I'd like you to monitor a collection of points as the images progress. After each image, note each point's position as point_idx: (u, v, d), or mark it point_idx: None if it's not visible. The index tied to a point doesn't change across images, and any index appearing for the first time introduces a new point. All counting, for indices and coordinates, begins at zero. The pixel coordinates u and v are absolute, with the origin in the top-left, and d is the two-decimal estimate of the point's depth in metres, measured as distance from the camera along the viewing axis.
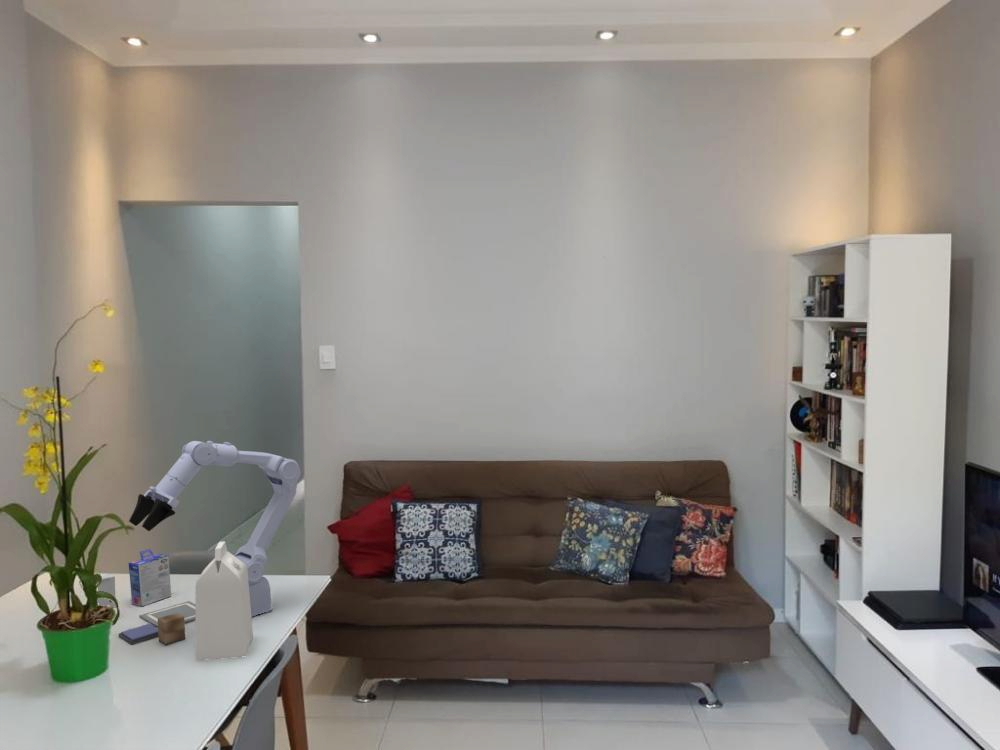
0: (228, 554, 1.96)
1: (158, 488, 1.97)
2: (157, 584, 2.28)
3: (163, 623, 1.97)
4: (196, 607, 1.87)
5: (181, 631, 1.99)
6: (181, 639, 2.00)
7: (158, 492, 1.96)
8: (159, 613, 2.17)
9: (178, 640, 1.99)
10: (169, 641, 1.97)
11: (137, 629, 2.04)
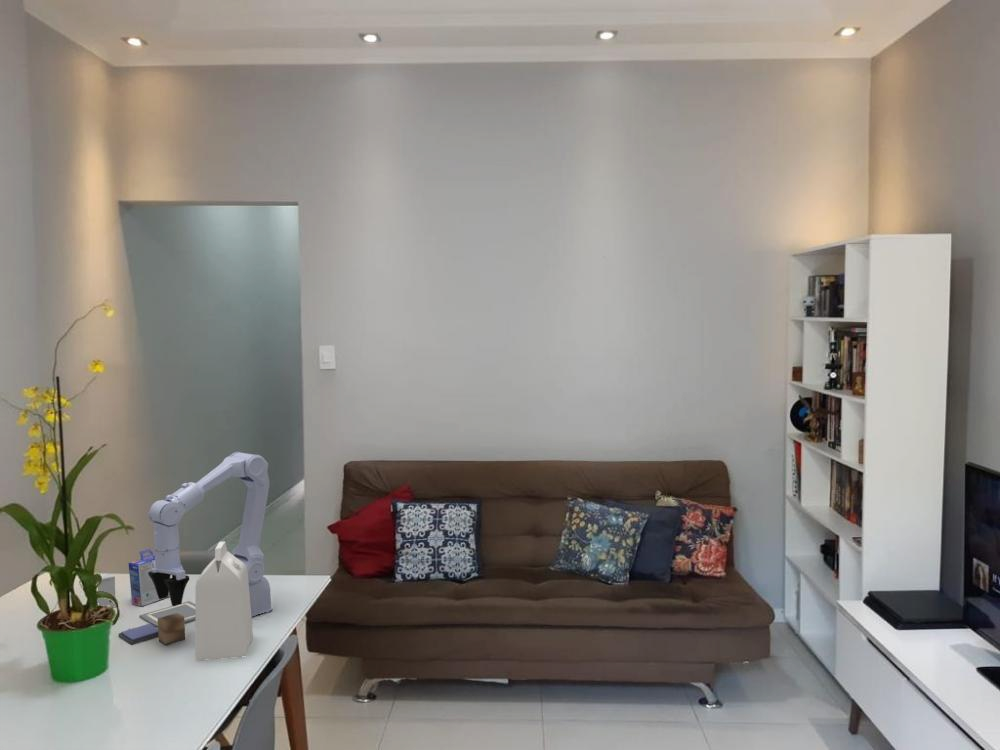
0: (228, 554, 1.96)
1: (158, 567, 1.96)
2: None
3: (163, 623, 1.97)
4: (196, 607, 1.87)
5: (181, 631, 1.99)
6: (181, 639, 2.00)
7: (161, 571, 1.95)
8: (159, 613, 2.17)
9: (178, 640, 1.99)
10: (169, 641, 1.97)
11: (137, 629, 2.04)
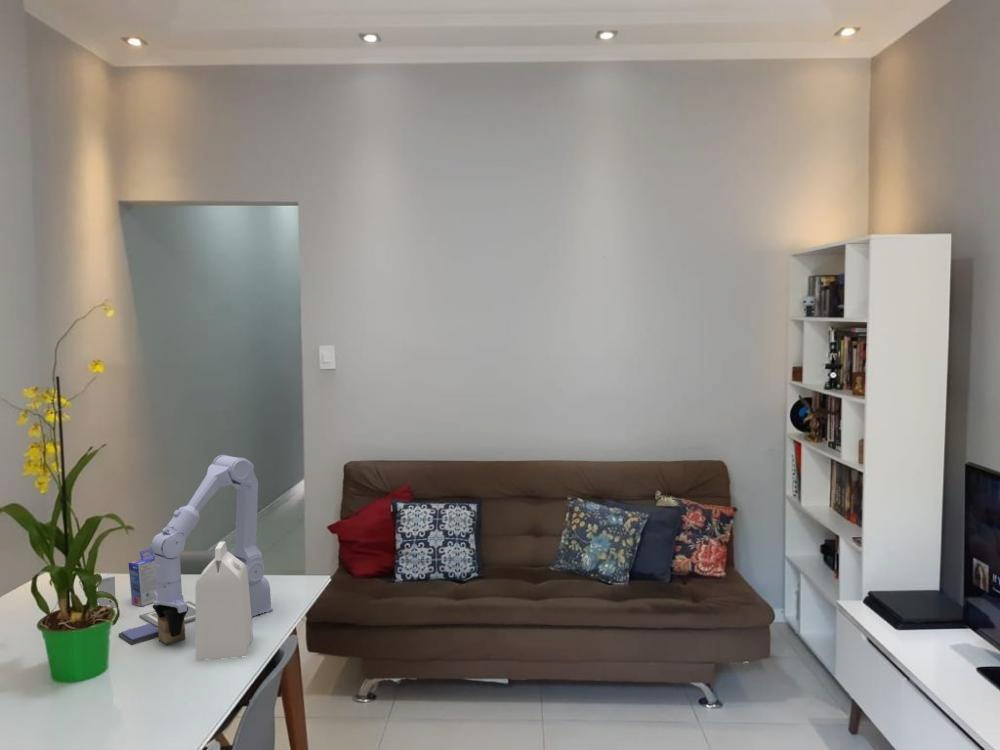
0: (228, 554, 1.96)
1: (160, 599, 1.96)
2: None
3: (163, 623, 1.97)
4: (196, 607, 1.87)
5: (181, 631, 1.99)
6: (181, 639, 2.00)
7: (163, 604, 1.96)
8: None
9: (178, 640, 1.99)
10: (169, 641, 1.97)
11: (137, 629, 2.04)
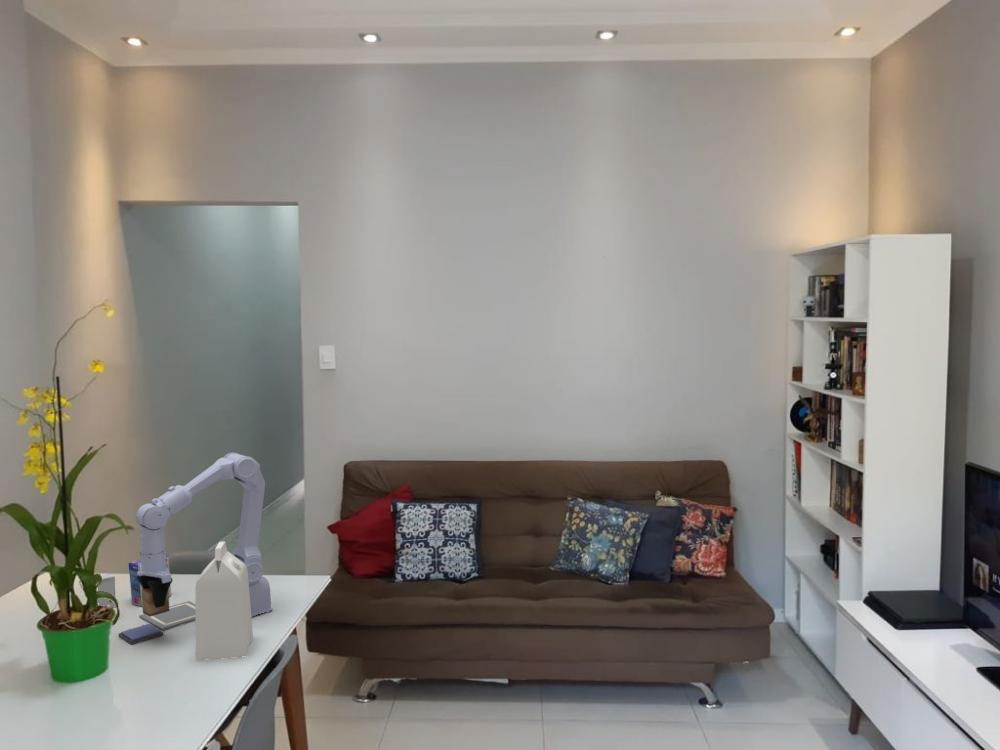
0: (228, 554, 1.96)
1: (144, 570, 1.97)
2: None
3: (147, 594, 1.97)
4: (196, 607, 1.87)
5: (165, 602, 2.00)
6: (165, 610, 2.00)
7: (147, 574, 1.97)
8: None
9: (162, 611, 2.00)
10: (153, 612, 1.98)
11: (137, 629, 2.04)
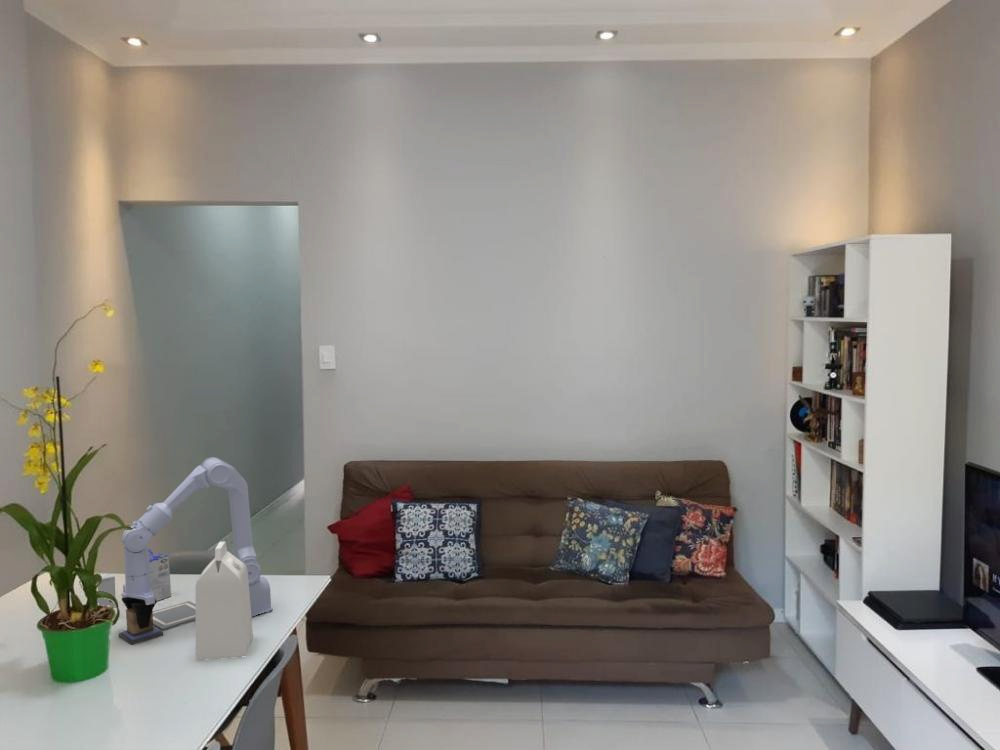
0: (228, 554, 1.96)
1: (128, 592, 1.99)
2: (157, 584, 2.28)
3: (131, 614, 2.00)
4: (196, 607, 1.87)
5: None
6: (149, 630, 2.03)
7: (131, 596, 1.99)
8: (159, 613, 2.17)
9: (146, 631, 2.02)
10: (137, 632, 2.00)
11: None
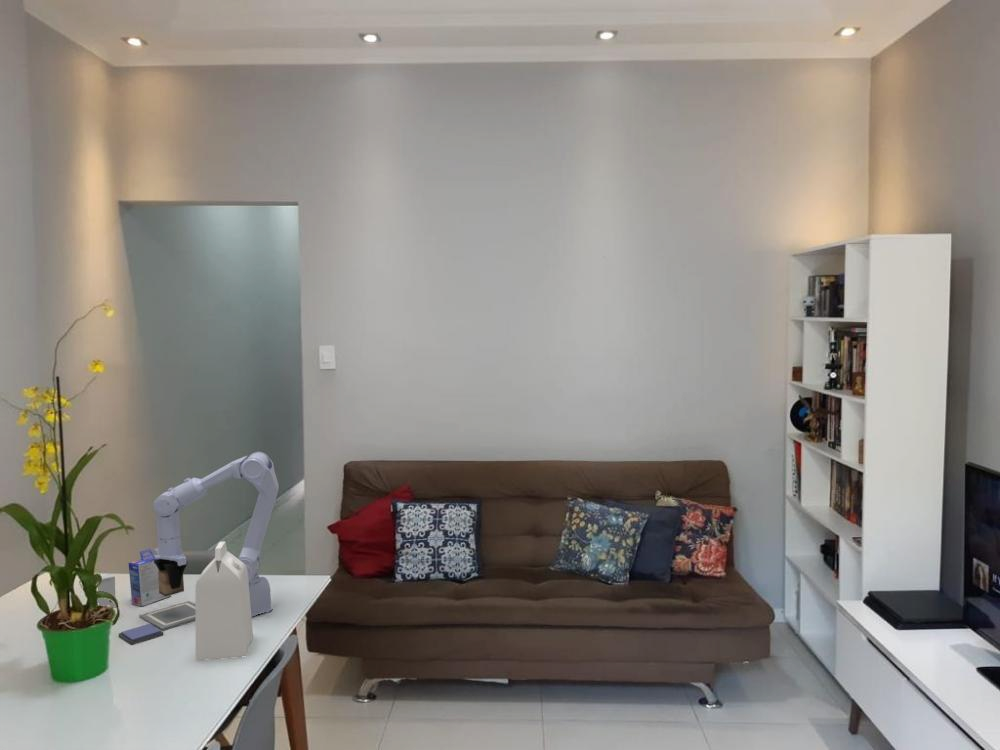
0: (228, 554, 1.96)
1: (161, 554, 2.11)
2: (157, 584, 2.28)
3: (163, 575, 2.11)
4: (196, 607, 1.87)
5: None
6: (180, 590, 2.14)
7: (164, 558, 2.10)
8: (159, 613, 2.17)
9: (177, 591, 2.13)
10: (169, 592, 2.11)
11: (137, 629, 2.04)
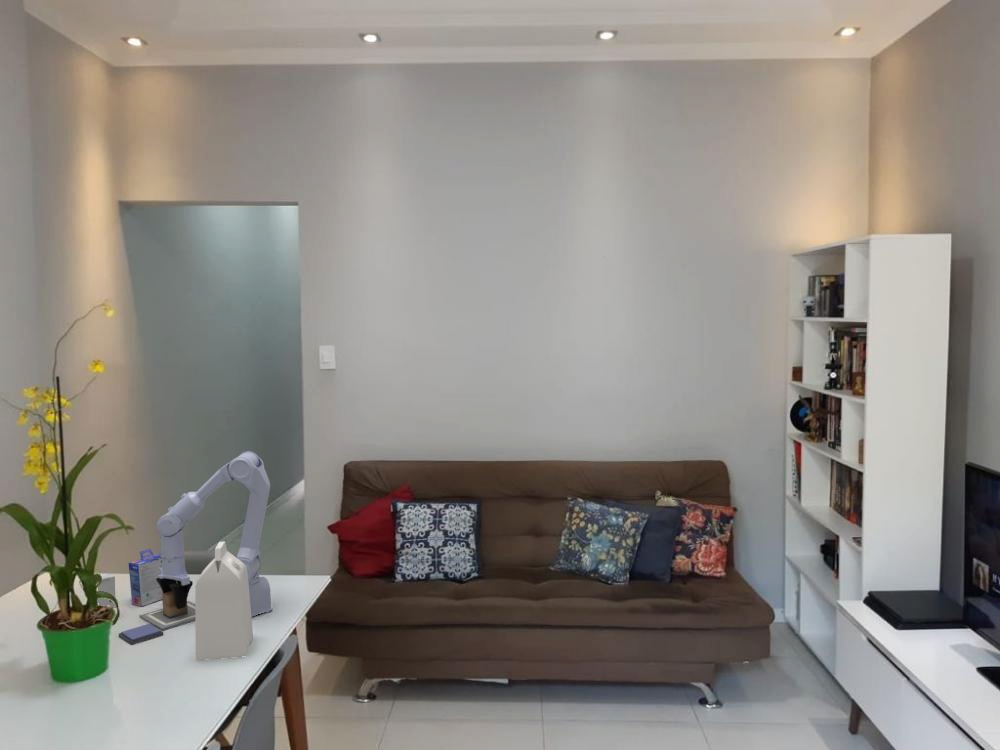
0: (228, 554, 1.96)
1: (165, 573, 2.12)
2: (157, 584, 2.28)
3: (167, 597, 2.13)
4: (196, 607, 1.87)
5: None
6: (184, 613, 2.15)
7: (168, 577, 2.12)
8: (159, 613, 2.17)
9: (181, 614, 2.15)
10: (172, 614, 2.13)
11: (137, 629, 2.04)
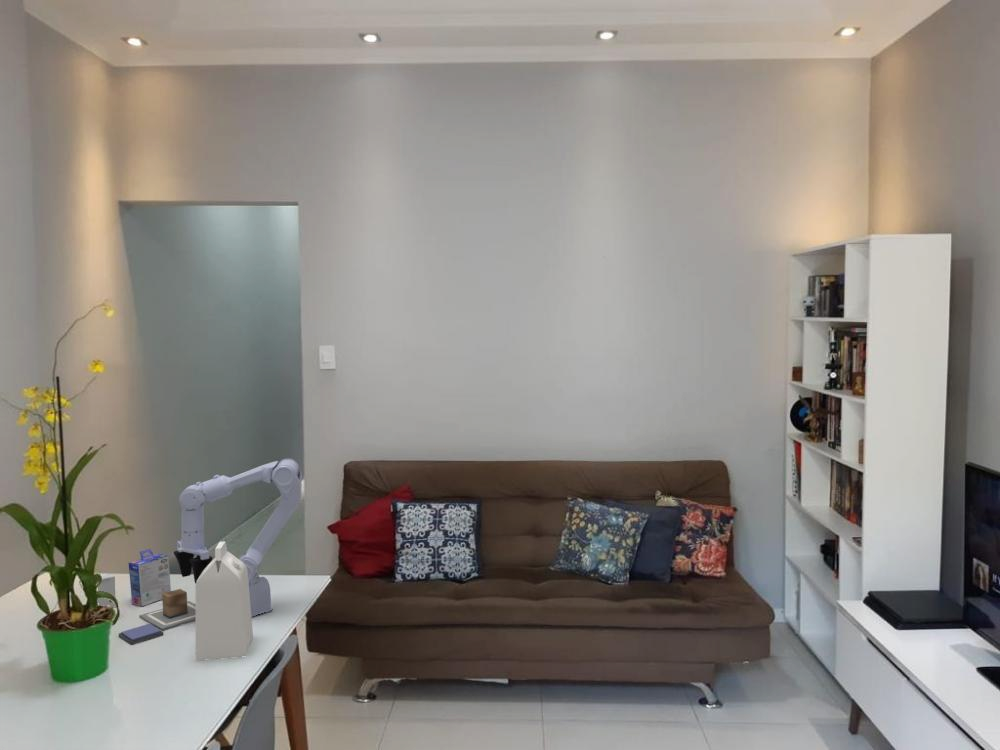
0: (228, 554, 1.96)
1: (184, 547, 2.11)
2: (157, 584, 2.28)
3: (167, 597, 2.13)
4: (196, 607, 1.87)
5: (184, 605, 2.15)
6: (184, 613, 2.15)
7: (187, 551, 2.11)
8: (159, 613, 2.17)
9: (181, 614, 2.15)
10: (172, 614, 2.13)
11: (137, 629, 2.04)
